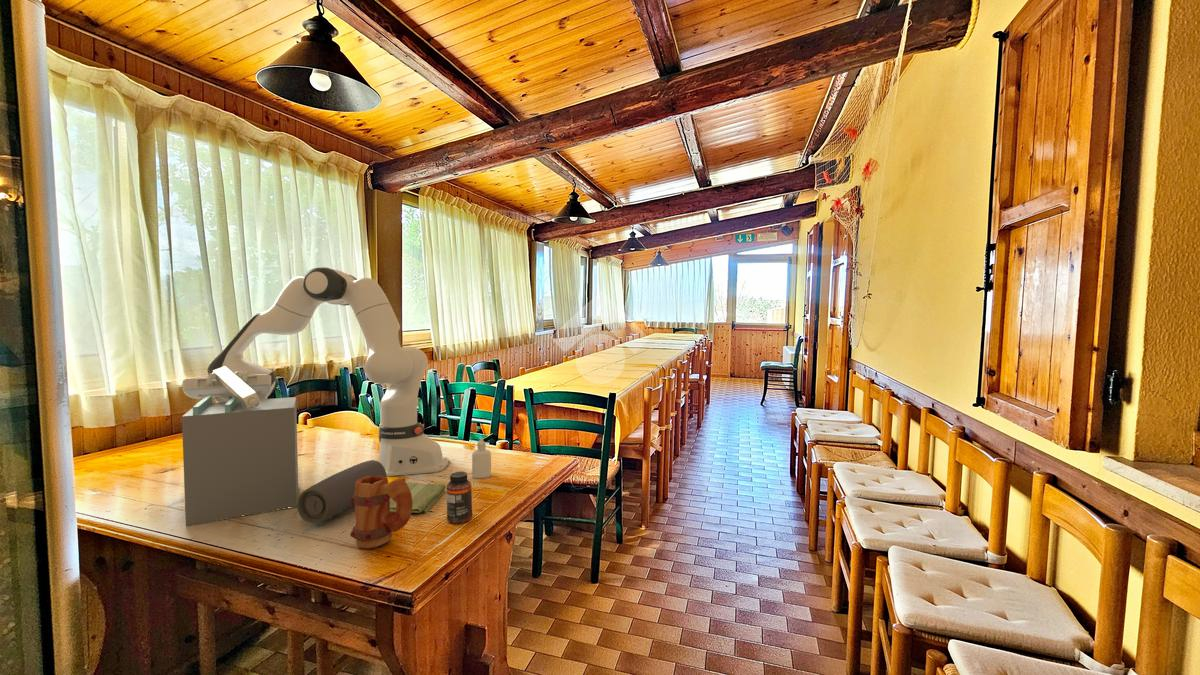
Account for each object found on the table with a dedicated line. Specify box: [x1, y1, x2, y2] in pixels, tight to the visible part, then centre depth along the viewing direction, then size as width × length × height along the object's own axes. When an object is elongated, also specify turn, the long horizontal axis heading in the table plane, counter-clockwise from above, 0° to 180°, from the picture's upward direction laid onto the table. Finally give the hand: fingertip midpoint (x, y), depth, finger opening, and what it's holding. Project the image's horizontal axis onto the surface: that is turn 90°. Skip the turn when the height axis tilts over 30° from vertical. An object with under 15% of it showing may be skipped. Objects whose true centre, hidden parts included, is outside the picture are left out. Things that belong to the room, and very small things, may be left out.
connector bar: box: [213, 366, 261, 408], centre depth 128 cm, size 31×3×3 cm, turn 50°
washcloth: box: [390, 481, 447, 514], centre depth 128 cm, size 13×18×3 cm
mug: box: [349, 476, 413, 549], centre depth 103 cm, size 15×8×15 cm, turn 69°
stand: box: [181, 396, 299, 527], centre depth 125 cm, size 18×22×28 cm
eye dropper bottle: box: [471, 437, 492, 479], centre depth 148 cm, size 4×6×12 cm
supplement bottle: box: [445, 470, 473, 524], centre depth 117 cm, size 6×6×11 cm
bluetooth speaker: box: [296, 459, 388, 524], centre depth 123 cm, size 23×9×10 cm, turn 171°
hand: (225, 374), depth 133 cm, fingers closed on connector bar, 4 cm apart
